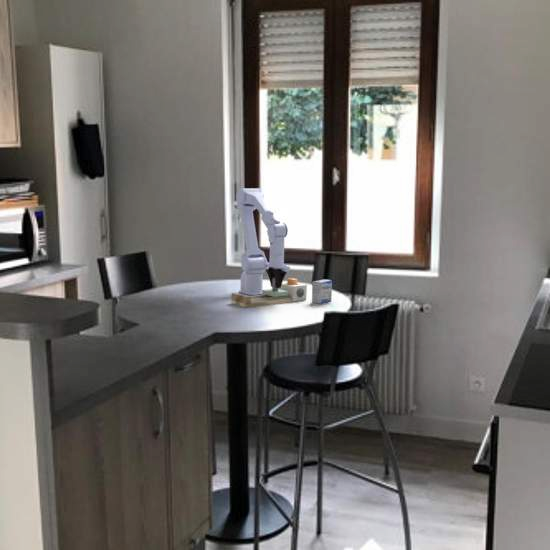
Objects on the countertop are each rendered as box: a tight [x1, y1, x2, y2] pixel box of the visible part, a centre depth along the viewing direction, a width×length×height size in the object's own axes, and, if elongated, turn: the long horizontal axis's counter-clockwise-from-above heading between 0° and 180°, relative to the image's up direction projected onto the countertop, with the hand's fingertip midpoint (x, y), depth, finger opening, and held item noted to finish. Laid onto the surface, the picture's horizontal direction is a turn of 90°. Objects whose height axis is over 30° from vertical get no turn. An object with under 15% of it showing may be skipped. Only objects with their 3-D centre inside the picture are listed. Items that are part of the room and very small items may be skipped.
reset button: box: [286, 277, 298, 285], centre depth 304 cm, size 4×4×6 cm
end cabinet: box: [278, 281, 308, 302], centre depth 304 cm, size 10×7×6 cm
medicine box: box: [311, 279, 333, 305], centre depth 298 cm, size 8×4×9 cm, turn 143°
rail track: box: [231, 292, 294, 308], centre depth 295 cm, size 10×23×4 cm, turn 129°
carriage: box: [261, 278, 288, 297], centre depth 298 cm, size 8×7×7 cm
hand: (275, 287), depth 298 cm, fingers closed on carriage, 2 cm apart
